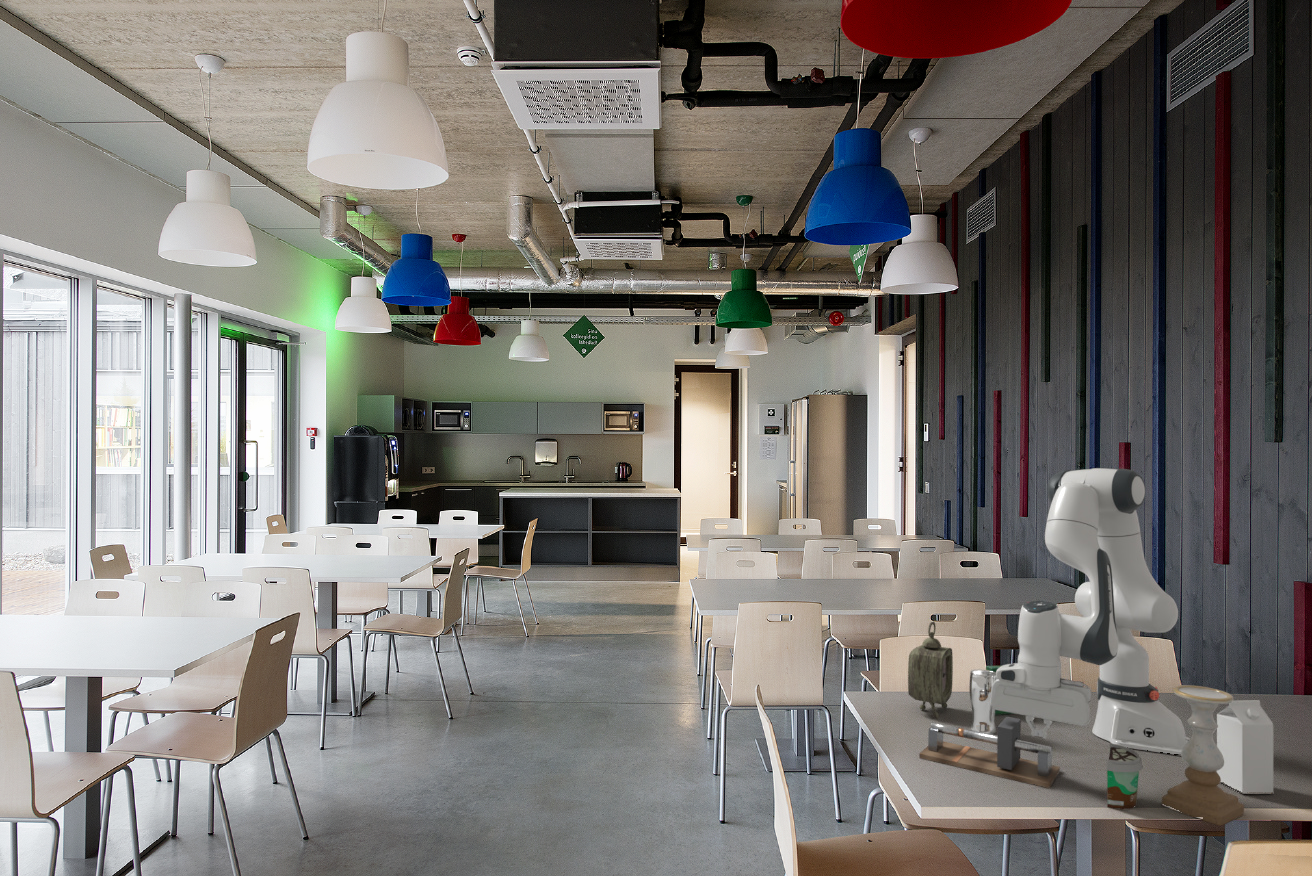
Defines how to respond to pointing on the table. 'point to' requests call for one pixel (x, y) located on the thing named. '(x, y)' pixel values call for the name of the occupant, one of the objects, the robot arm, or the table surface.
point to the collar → (1008, 742)
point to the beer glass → (982, 700)
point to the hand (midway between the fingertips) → (1038, 737)
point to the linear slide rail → (1043, 751)
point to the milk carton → (1246, 746)
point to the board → (989, 764)
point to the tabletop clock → (930, 672)
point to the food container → (1122, 777)
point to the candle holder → (1203, 762)
